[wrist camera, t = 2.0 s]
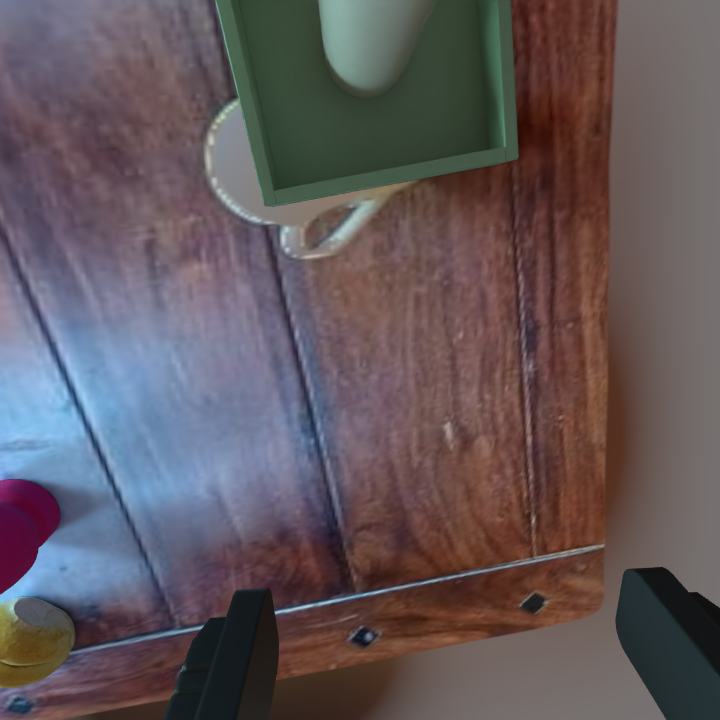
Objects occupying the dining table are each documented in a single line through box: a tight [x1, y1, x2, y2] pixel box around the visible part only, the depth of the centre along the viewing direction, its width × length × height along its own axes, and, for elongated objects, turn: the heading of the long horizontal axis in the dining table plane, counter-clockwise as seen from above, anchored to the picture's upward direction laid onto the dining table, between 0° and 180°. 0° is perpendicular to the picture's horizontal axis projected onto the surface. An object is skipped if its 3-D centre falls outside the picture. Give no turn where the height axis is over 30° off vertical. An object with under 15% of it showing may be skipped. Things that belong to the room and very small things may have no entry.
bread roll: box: [0, 596, 75, 688], centre depth 40 cm, size 8×9×4 cm
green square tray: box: [216, 0, 519, 207], centre depth 25 cm, size 16×16×4 cm
